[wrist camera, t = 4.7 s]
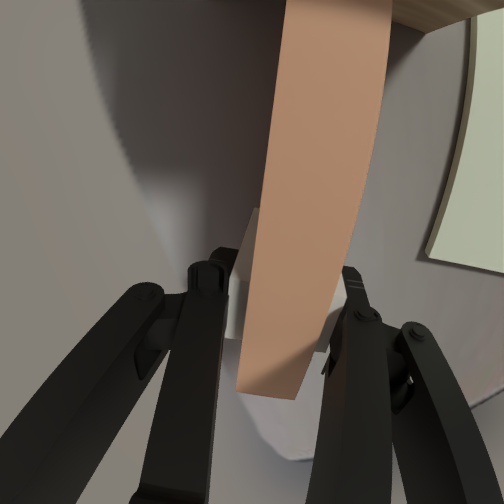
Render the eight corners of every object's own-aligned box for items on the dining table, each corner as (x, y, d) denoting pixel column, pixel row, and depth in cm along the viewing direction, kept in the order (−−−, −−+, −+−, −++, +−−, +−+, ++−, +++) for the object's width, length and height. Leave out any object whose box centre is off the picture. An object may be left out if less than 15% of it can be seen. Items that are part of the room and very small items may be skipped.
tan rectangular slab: (296, 4, 11) (297, -88, 3) (342, 12, 11) (392, -68, 3) (259, 272, 19) (235, 391, 11) (297, 278, 19) (294, 400, 11)
